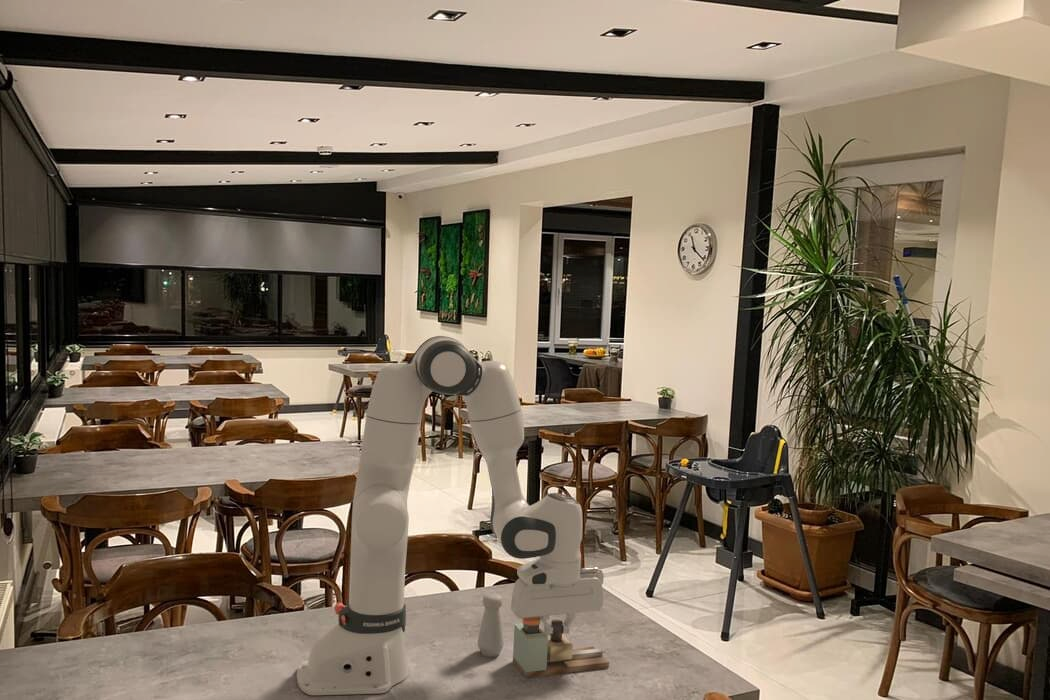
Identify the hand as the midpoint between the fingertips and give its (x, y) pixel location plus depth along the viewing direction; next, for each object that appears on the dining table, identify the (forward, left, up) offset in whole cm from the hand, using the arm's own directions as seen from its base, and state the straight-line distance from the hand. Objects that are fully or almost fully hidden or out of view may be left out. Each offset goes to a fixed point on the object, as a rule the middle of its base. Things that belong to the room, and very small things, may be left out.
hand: (556, 633), depth 175 cm
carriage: (0, 0, -5) cm, 4 cm away
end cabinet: (-6, 0, -6) cm, 8 cm away
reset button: (-6, 0, -1) cm, 6 cm away
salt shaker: (-12, +9, -7) cm, 16 cm away
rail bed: (+1, 0, -7) cm, 7 cm away
